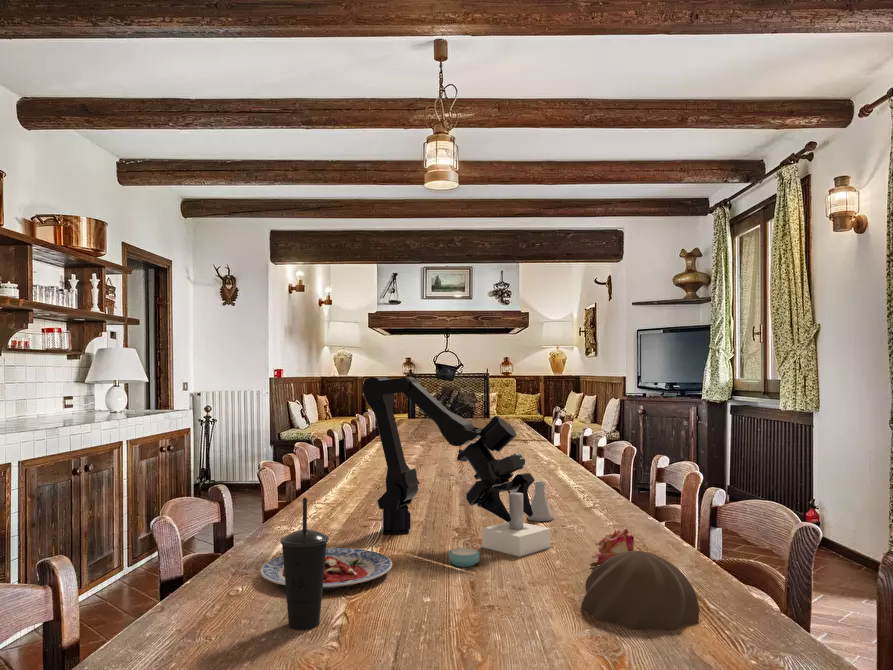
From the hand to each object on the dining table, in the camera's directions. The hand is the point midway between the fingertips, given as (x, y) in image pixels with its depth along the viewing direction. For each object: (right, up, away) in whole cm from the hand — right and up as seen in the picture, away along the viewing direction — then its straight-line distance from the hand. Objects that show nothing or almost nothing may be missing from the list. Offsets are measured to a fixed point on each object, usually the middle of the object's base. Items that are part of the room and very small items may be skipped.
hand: (521, 518), depth 153 cm
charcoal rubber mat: (-1, -7, +1) cm, 7 cm away
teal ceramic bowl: (-13, -7, -12) cm, 19 cm away
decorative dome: (+16, -6, -38) cm, 42 cm away
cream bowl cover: (-1, -7, +1) cm, 7 cm away
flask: (+9, -9, +31) cm, 34 cm away
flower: (+17, -7, -14) cm, 23 cm away
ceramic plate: (-41, -7, -18) cm, 45 cm away
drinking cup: (-40, -5, -45) cm, 60 cm away
